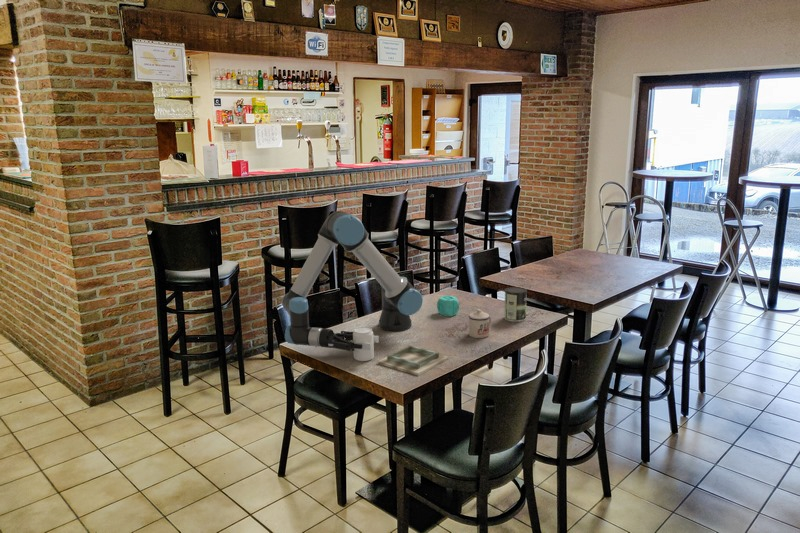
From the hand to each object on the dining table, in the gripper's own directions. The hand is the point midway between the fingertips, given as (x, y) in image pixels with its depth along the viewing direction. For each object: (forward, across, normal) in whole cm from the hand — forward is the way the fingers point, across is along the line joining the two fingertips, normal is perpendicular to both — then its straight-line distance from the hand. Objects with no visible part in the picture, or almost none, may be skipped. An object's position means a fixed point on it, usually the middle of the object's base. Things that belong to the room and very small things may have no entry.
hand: (374, 342), depth 241 cm
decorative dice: (+14, -64, -7) cm, 66 cm away
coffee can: (+47, -65, -7) cm, 81 cm away
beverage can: (-5, 0, -7) cm, 9 cm away
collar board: (+15, -2, -7) cm, 17 cm away
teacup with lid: (+35, -40, -7) cm, 54 cm away
